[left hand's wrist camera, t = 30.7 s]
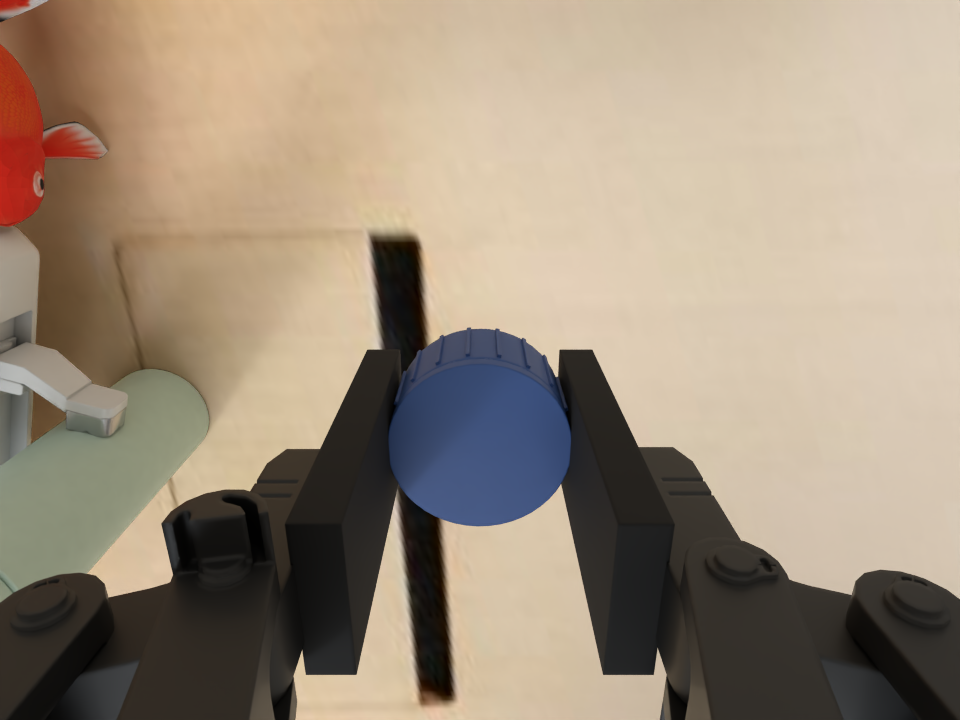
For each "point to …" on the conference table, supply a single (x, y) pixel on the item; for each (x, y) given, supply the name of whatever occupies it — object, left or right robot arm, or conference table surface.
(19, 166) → the fish
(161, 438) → the bottle
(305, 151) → the conference table surface
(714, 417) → the conference table surface
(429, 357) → the cap
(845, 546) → the conference table surface
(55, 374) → the right robot arm
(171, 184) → the conference table surface
